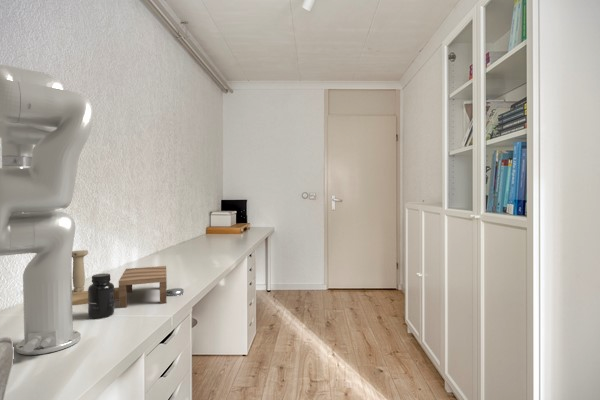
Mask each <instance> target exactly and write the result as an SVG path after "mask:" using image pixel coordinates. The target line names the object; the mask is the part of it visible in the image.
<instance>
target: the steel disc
mask: <svg viewBox="0 0 600 400" xmlns="http://www.w3.org/2000/svg"><path fill="white" fill-rule="evenodd" d="M184 291H185V290H184V288H178V287H177V288H176V287H175V288H169V289H166V297H178V296H177V295H179V296H182V295H184V294H185V292H184ZM183 293H184V294H183ZM181 294H182V295H181Z"/></svg>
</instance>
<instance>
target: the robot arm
mask: <svg viewBox="0 0 600 400" xmlns="http://www.w3.org/2000/svg"><path fill="white" fill-rule="evenodd" d="M93 125H94V107H93V103H91V100H89V99H88V97H86V96H84V95H82V94H81V93H78V92H75V91H71V90H69V89H68V90H67V89H65V86H64V85H63V83H62V82H61V81H60V80H59V79H58V78H57V77H55V76H53V75H51V74H48V73H45V72H41V71H37V70H30V69H26V68H19V67H15V66H10V65H4V64H2V65H1V64H0V140H1V141H0V143H1V167H0V257H2V256H3V257H5V256H14V255H23V254H24V255H25V254H35V255H34V256H33V258H32V259H31V260H30V261H29V262H28V264H27V265H26V267H25V268H24V270H23V274H22V288H23V291H22V294H23V338H24V339H22V340H20V341H19V342H18V343H17V344H16V345H15V352H16V353H18V354H20V355H26V356H33V355H35V356H36V355H42V354H49V353H53V352H56V351H57V352H58V351H61V350H63V349H64V350H65V349H67V348H69V347H71V346H73V345H75V344H77V343H78V342H79V341H80V340H81V333H80V332H79V331H77V330H74V329H73V328H74V327H73V326H74V323H73V322H74V321H73V320H74V319H73V306H72V292H73V278H72V277H73V258H72V251H73V247H74V241H75V234H76V222H75V220H74V218H73V216H71V215H70V214H68V213H66V212H63V210H65V209H67V208H68V207H69V206H70V205H71V203H72V201H73V197H74V192H75V187H76V186H75V185H76V180H77V179H76V178H77V173H78V166H79V161H80V157H81V156H80V155H81V154H82V151H83V149H84V147H85V145H86V143H87V141H88V140H89V137H90V135H91V132H92V128H93ZM61 210H62V211H61Z"/></svg>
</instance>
